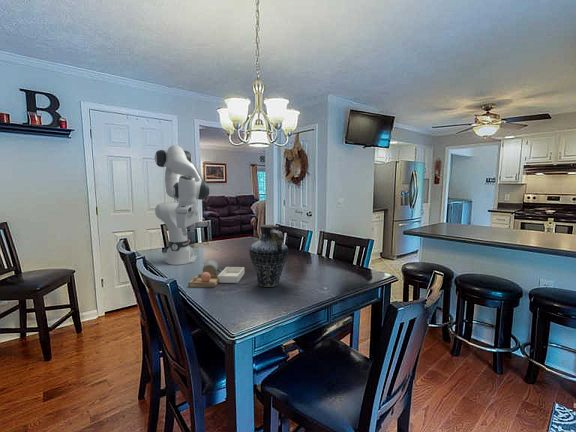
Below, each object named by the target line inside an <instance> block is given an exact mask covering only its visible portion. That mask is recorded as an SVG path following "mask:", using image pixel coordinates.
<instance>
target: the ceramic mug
mask: <svg viewBox="0 0 576 432" xmlns="http://www.w3.org/2000/svg"><path fill="white" fill-rule="evenodd" d="M222 271H223V270H222V269H220V268H219V264H218V262H217V261H215V260H213V259H209V260H207V261H205V262H204V265H203V268H202V274H203V273H204V272H208V273H210V275H219V274H220V273H221V272H222Z"/></svg>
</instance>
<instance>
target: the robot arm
mask: <svg viewBox="0 0 576 432" xmlns="http://www.w3.org/2000/svg"><path fill="white" fill-rule="evenodd" d="M154 162H155V164H156V165H157V167H160V168H165V169H164V170H165V172H164V184H165V193H166V195H167V196H168V197H170V198H173V199H174V200H175V201H166V202H160V203H158V204H157V205H156V207H155V209H154V214H155V216H156V217H157V218H158V219H159V220H160V221H162V222H163V223H164V224H165V226H166V228H167V231H168V248H167V249H166V259H165V260H164V263H167V264H169V265H172V266H173V265H175V266H176V265H177V266H178V265H179V266H180V265H186V264H191V263H194V262H195V261H196V260H197V258H198V255H197V254H194V253H195V251H194V249H193V248H192V247H191V246H190V243H191V240H190V239H189V238H188V227H190V229H189V233H193V232H195V228H196V224H197V223H198V222H199V220H200V218H199V207H198V201H197V200H200V201H201V200H202V201H203V200H205V199H207V198H208V197H209V195H210V187H209V185H208V183H207V182H206V181H205V179H204V178H203V176H202V174H201V173H200V171H199V169H198V167H197V166H196V165H195V164H193V157H192V154H191V152H190V151H189V150H184V149H183V147H181V146H179V145H177V144H176V145H171V146H169V147H168V148H167V149H160V150H157V151H156V152H155V155H154Z"/></svg>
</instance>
